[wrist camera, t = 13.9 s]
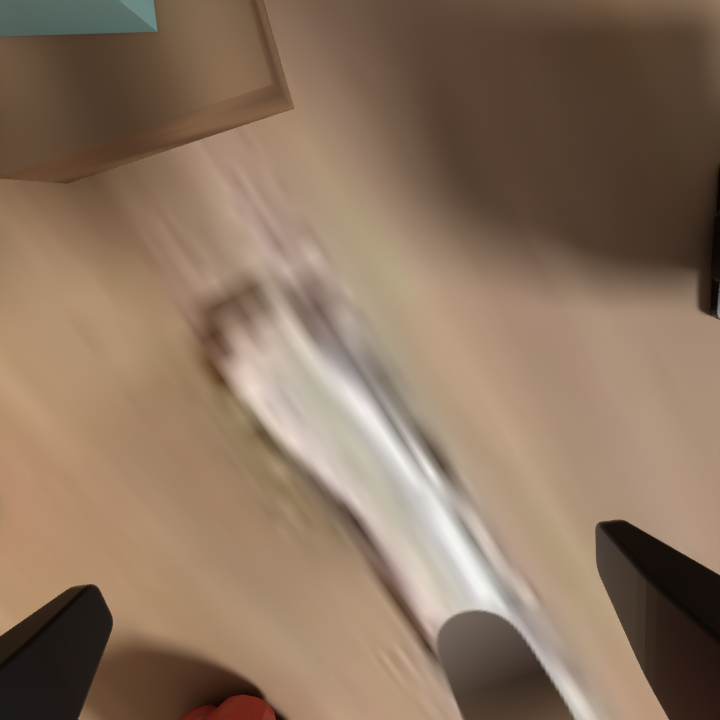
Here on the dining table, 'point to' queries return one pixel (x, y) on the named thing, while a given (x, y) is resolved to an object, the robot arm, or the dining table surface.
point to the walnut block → (135, 89)
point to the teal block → (76, 17)
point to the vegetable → (233, 710)
